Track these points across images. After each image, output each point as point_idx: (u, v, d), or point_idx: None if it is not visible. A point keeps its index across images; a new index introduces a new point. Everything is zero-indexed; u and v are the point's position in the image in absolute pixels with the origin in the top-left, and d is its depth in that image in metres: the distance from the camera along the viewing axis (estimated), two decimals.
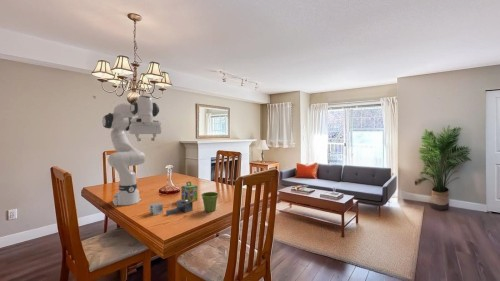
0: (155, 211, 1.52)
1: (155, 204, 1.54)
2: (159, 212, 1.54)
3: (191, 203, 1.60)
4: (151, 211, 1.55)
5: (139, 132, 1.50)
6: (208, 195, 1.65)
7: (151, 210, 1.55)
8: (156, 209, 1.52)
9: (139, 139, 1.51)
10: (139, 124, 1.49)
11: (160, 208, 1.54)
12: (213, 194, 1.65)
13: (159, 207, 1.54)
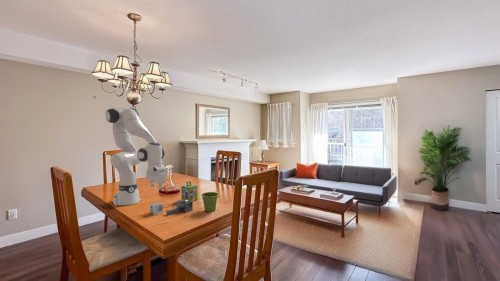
0: (155, 211, 1.52)
1: (155, 204, 1.54)
2: (159, 212, 1.54)
3: (191, 203, 1.60)
4: (151, 211, 1.55)
5: None
6: (208, 195, 1.65)
7: (151, 210, 1.55)
8: (156, 209, 1.52)
9: None
10: None
11: (160, 208, 1.54)
12: (213, 194, 1.65)
13: (159, 207, 1.54)
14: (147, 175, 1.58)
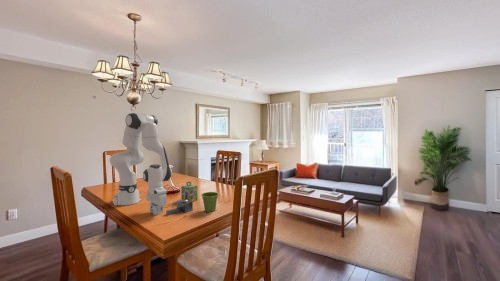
0: (155, 211, 1.52)
1: (155, 204, 1.54)
2: (159, 212, 1.54)
3: (191, 203, 1.60)
4: (151, 211, 1.55)
5: None
6: (208, 195, 1.65)
7: (151, 210, 1.55)
8: (156, 209, 1.52)
9: None
10: None
11: None
12: (213, 194, 1.65)
13: None
14: (147, 196, 1.59)
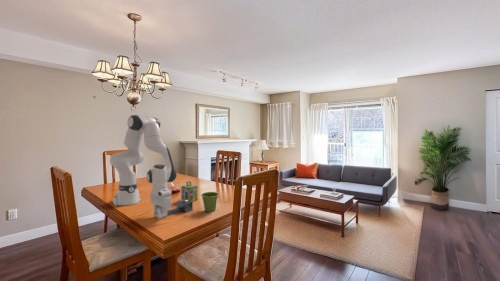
0: (160, 214, 1.44)
1: (159, 206, 1.47)
2: (163, 215, 1.46)
3: (191, 203, 1.60)
4: (155, 214, 1.47)
5: None
6: (208, 195, 1.65)
7: (155, 213, 1.47)
8: (161, 212, 1.45)
9: None
10: None
11: None
12: (213, 194, 1.65)
13: None
14: (151, 198, 1.51)
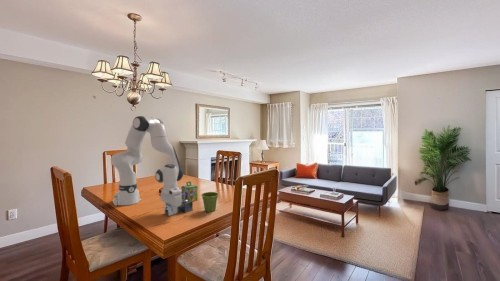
0: (170, 212, 1.50)
1: None
2: (174, 213, 1.52)
3: (191, 203, 1.60)
4: None
5: None
6: (208, 195, 1.65)
7: None
8: (171, 210, 1.50)
9: None
10: None
11: None
12: (213, 194, 1.65)
13: None
14: (162, 197, 1.57)
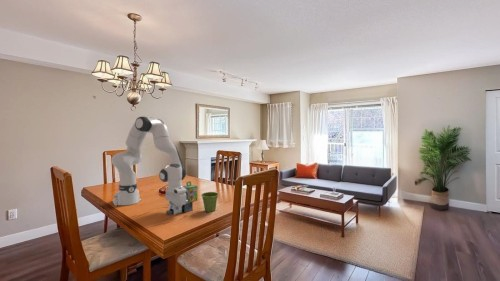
0: (175, 211, 1.53)
1: (175, 204, 1.55)
2: (178, 212, 1.55)
3: (191, 203, 1.60)
4: None
5: None
6: (208, 195, 1.65)
7: None
8: (176, 209, 1.53)
9: None
10: None
11: None
12: (213, 194, 1.65)
13: None
14: (166, 195, 1.59)
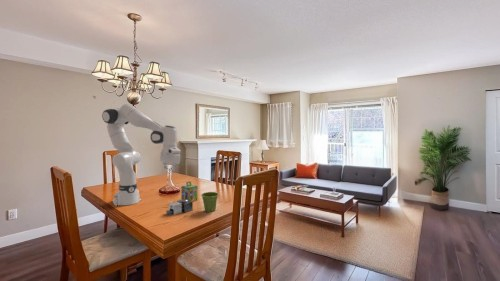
0: (175, 211, 1.53)
1: (175, 204, 1.55)
2: (178, 212, 1.55)
3: (191, 203, 1.60)
4: None
5: None
6: (208, 195, 1.65)
7: None
8: (176, 209, 1.53)
9: None
10: None
11: (179, 207, 1.55)
12: (213, 194, 1.65)
13: (179, 207, 1.55)
14: (161, 157, 1.63)
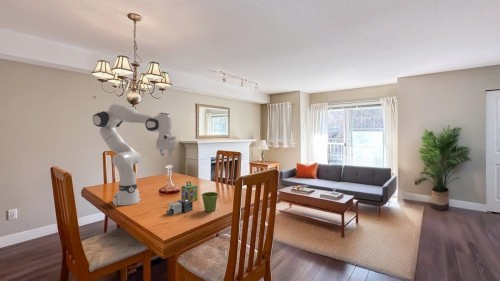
0: (175, 211, 1.53)
1: (175, 204, 1.55)
2: (178, 212, 1.55)
3: (191, 203, 1.60)
4: None
5: None
6: (208, 195, 1.65)
7: None
8: (176, 209, 1.53)
9: None
10: None
11: (179, 207, 1.55)
12: (213, 194, 1.65)
13: (179, 207, 1.55)
14: (157, 144, 1.66)
